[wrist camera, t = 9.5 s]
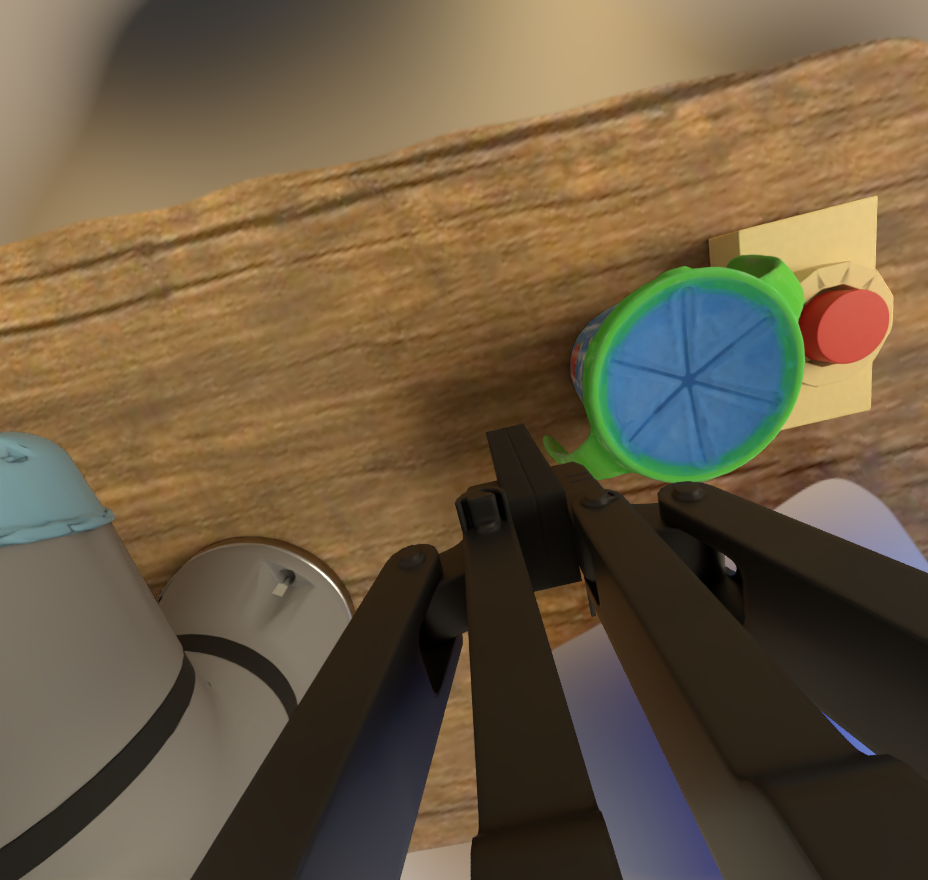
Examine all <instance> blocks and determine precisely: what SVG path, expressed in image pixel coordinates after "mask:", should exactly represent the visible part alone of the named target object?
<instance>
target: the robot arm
mask: <svg viewBox="0 0 928 880" xmlns="http://www.w3.org/2000/svg"><path fill="white" fill-rule="evenodd" d="M486 435H487V439H488V443H489V448H490V452H491V456H492V460H493V465H494V469H495V473H496V477H497V481H493V482H488V483H484V484H480V485H476V486H471V487H469V488H468V490H467V491H466V493H464V494H462V495H461V496H460V497H459V498H457V500H456V502H455V506H456V509H457V513H458V517H459V520H460V524H461V528H462V532H463V540H462V541H461V542H460V543H459V544H457V545H456V546H454V547H453V548H451V549H449V550H447V551H445V552H442V553H440V554H438V551H437V550H436V548H435V547H434V546H432V545H429V544H417V545H410V546H407V547H405V548H403V549H401V550H400V551H398V552H397V553H395V554H394V555H392V556H391V557H390V559H389V560H388V561H387V562H386V564H385V565H384V567H383V569H382V570H381V572H380V573H379V575H378V577H377V578H376V580H375V582H374V583H373V585H372V586H371V588H370V590H369V591H368V593H367V595H366V596H365V598H364V599H363V601H362V603H361V604H360V606H359V607H358V609H357V611H356V612H355V610H354V605H353V602H352V599H351V597H350V595H349V592H348V590H347V589H346V587H345V585H344V584H343V582H342V581H341V579H340V578H339V577H338V576H337V575H336V573H335V572H334V571H333V570H332V569H331V568H330V567H329V566H328V565H327V564H325V563H324V562H323V561H322V560H320V559H319V558H318V557H316V556H315V555H313V554H311V553H310V552H308V551H306V550H304V549H302V548H300V547H298V546H295V545H293V544H290V543H287V542H284V541H280V540H276V539H270V538H263V537H240V538H233V539H228V540H224V541H221V542H218V543H215V544H212V545H210V546H208V547H206V548H204V549H202V550H201V551H199V552H198V553H196V554H195V555H194V556H193V557H191V558H190V559H189V560H188V561H187V562H186V563H185V564H184V565H183V566H182V567H180V568H179V569H178V571H177V572H176V573H175V574H174V575H173V576H172V578H171V579H170V580H169V582H168V583H167V584H166V586H165V587H164V589H163V590H162V592H161V594H160V596H159V598H158V600H157V601H156V600H155V598H154V596H153V594H152V593H151V591H150V589H149V587H148V586H147V584H146V582H145V580H144V579H143V577H142V575H141V573H140V572H139V570H138V568H137V567H136V565H135V563H134V561H133V560H132V558H131V556H130V554H129V553H128V551H127V549H126V547H125V546H124V544H123V542H122V540H121V539H120V537H119V535H118V533H117V532H116V530H115V528H114V526H113V525H112V523H111V522H112V521H114V520H115V518H116V517H115V515H114V513H113V512H112V510H111V509H109V508H107V507H104V506H102V504H101V503H100V501H99V500H98V498H97V497H96V495H95V493H94V492H93V490H92V489H91V487H90V486H89V484H88V483H87V481H86V480H85V478H84V477H83V475H82V474H81V472H80V471H79V469H78V468H77V466H76V465H75V463H74V461H73V460H72V458H71V457H70V456H69V454H68V453H67V452H66V451H65V450H64V449H63V448H61V447H60V446H59V445H58V444H56V443H54V442H53V441H51V440H49V439H47V438H44V437H41V436H38V435H34V434H30V433H25V432H11V431H10V432H0V880H400V877H401V874H402V870H403V866H404V862H405V859H406V855H407V851H408V847H409V844H410V840H411V836H412V832H413V829H414V825H415V821H416V817H417V814H418V810H419V806H420V802H421V799H422V795H423V791H424V787H425V784H426V780H427V776H428V772H429V769H430V765H431V761H432V757H433V754H434V750H435V746H436V742H437V739H438V735H439V731H440V727H441V724H442V720H443V716H444V712H445V709H446V705H447V701H448V697H449V694H450V690H451V686H452V682H453V679H454V675H455V671H456V667H457V664H458V660H459V656H460V652H461V649H462V645H463V636H462V633H464V632H466V631H468V636H469V654H470V672H471V689H472V707H473V725H474V743H475V761H476V778H477V796H478V814H479V830H478V835H477V836H475V837H474V838H473V839H472V846H471V880H623V878H622V875H621V872H620V868H619V865H618V862H617V859H616V855H615V852H614V849H613V845H612V842H611V839H610V836H609V833H608V830H607V826H606V823H605V821H604V818H603V815H602V812H601V811H600V810H599V808H598V806H597V803H596V799H595V796H594V793H593V790H592V786H591V783H590V780H589V776H588V773H587V769H586V766H585V763H584V759H583V756H582V753H581V750H580V746H579V743H578V739H577V736H576V733H575V729H574V726H573V722H572V719H571V716H570V712H569V709H568V706H567V702H566V699H565V696H564V692H563V689H562V685H561V682H560V679H559V675H558V672H557V669H556V665H555V662H554V659H553V655H552V652H551V648H550V645H549V642H548V638H547V635H546V632H545V628H544V625H543V621H542V618H541V615H540V611H539V608H538V605H537V601H536V598H535V595H534V592H535V591H539V590H544V589H548V588H552V587H557V586H561V585H566V584H570V583H575V582H579V581H582V579H581V574H580V568H581V570H582V572H583V574H584V579H585V584H586V590H587V595H588V600H589V606H590V611H591V616H592V617H593V616H596V613H595V610H596V612H597V614H598V616H599V618H600V621H601V623H602V625H603V627H604V629H605V631H606V633H607V635H608V637H609V639H610V641H611V643H612V646H613V648H614V650H615V652H616V654H617V656H618V658H619V660H620V663H621V664H622V667H623V669H624V671H625V673H626V675H627V677H628V679H629V681H630V684H631V686H632V688H633V690H634V692H635V694H636V696H637V698H638V700H639V702H640V704H641V706H642V709H643V711H644V713H645V715H646V717H647V719H648V721H649V723H650V725H651V727H652V729H653V732H654V734H655V736H656V738H657V740H658V742H659V744H660V746H661V748H662V751H663V753H664V755H665V757H666V759H667V761H668V763H669V765H670V767H671V770H672V772H673V774H674V776H675V778H676V780H677V782H678V784H679V786H680V788H681V790H682V793H683V795H684V796H685V799H686V801H687V803H688V805H689V807H690V809H691V811H692V814H693V816H694V818H695V820H696V822H697V824H698V826H699V828H700V830H701V832H702V834H703V837H704V839H705V841H706V843H707V845H708V847H709V849H710V851H711V853H712V855H713V858H714V860H715V862H716V864H717V866H718V868H719V870H720V872H721V874H722V877H723V878H724V880H928V573H926V572H924V571H921V570H919V569H916V568H914V567H911V566H909V565H906V564H904V563H901V562H899V561H896V560H894V559H891V558H889V557H886V556H884V555H882V554H879V553H877V552H874V551H872V550H869V549H867V548H864V547H862V546H860V545H857V544H855V543H852V542H850V541H847V540H845V539H842V538H840V537H837V536H835V535H832V534H830V533H827V532H825V531H823V530H820V529H817V528H815V527H812V526H810V525H808V524H805V523H803V522H800V521H798V520H795V519H793V518H790V517H788V516H786V515H783V514H780V513H778V512H776V511H773V510H771V509H768V508H766V507H763V506H761V505H758V504H756V503H753V502H751V501H749V500H746V499H744V498H741V497H739V496H736V495H734V494H731V493H729V492H726V491H724V490H721V489H719V488H716V487H714V486H712V485H708V484H704V483H700V482H692V481H684V482H683V481H681V482H676V483H674V484H670V485H667V486H665V487H663V488H662V489H660V491H659V492H658V502H659V503H652V504H630V503H629V502H628V501H627V500H626V499H625V498H624V497H623V495H621V494H620V493H618V492H617V491H613V490H609V489H603V487H602V486H601V485H600V484H599V483H598V482H597V480H596V479H595V478H593V476H592V475H591V473H589V471H588V470H587V469H586V468H585V466H584V465H581V464H579V463H576V462H568V463H564V464H560V465H556V466H551V467H550V465H549V464H548V462H547V461H546V459H545V458H544V456H543V454H542V453H541V451H540V450H539V448H538V447H537V445H536V443H535V442H534V440H533V439H532V437H531V436H530V434H529V432H528V431H527V429H526V428H525V426H524V424H519V425H515V426H511V427H506V428H502V429H498V430H494V431H490V432H486ZM725 555H726V556H727V557H728V558H730V559H731V560H732V561H733V562H734V563H735V565H736V567H737V570H736V572H735V571H732V570H730V569H729V568H728V567H726V566H725ZM579 566H580V568H579ZM821 711H822V712H823V713H824V714H825V715H827V716H828V717H829V718H831V719H832V720H833V721H835V722H836V723H837V724H838V725H839V726H841V727H842V728H843V729H845V730H846V731H847V732H849V733H850V734H851V735H852V736H853V737H855V738H856V739H857V740H859V741H860V742H861V743H862V744H864V745H865V746H866V747H867V748H869V749H870V750H871V751H873V752H874V753H875V754H876V755H869V756H868V755H866V754H864V753H862V752H860V751H859V750H857V749H856V748H855V747H854V746H853V745H852V744H851V743H850V742H849V741H847V739H846V738H845V737H844V736H843V735H842V734H841V733H840V732H839V731H838V730H837V729H836V728H835V727H834V725H833V724H832V723H831V722H830V721H829V720H828V719H827V718H826V717H825V715H824V714H823V713H822V712H821Z"/></svg>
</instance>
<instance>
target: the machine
mask: <svg viewBox="0 0 928 880" xmlns="http://www.w3.org/2000/svg"><path fill="white" fill-rule="evenodd" d="M877 197H878V196H872V197H868V198H864V199H860V200H857V201H853V202H849V203H845V204H841V205H837V206H833V207H829V208H825V209H821V210H817V211H813V212H809V213H805V214H801V215H797V216H794V217H790V218H786V219H782V220H778V221H774V222H770V223H766V224H762V225H758V226H754V227H750V228H746V229H742V230H738V231H735V232H731V233H728V234H724V235H721V236H717V237H713V238H710V239H709V240H708V241H709V255H710V267H723V268H726V267H727V265H728V262H729V261H730V260H731V259H733V258H735V257H738V256H740V255H751V254H752V255H765V256H773V257H777V258H780V259H781V260H782V261H783V262H784V263H786V265H787V266H788V267H789V268H790V269H791V271H792V272H793V273H794V275H795V276H796V277H797V279H798V281H799V282H800V284H801V286H802V288H803V292H804V298H805V300H806V301H805V303H804V304H803V308H804V307H805V306H806V305H807V304H808V303H809V302H810V301H811V300H813V299H814V298H815V297H817V296H819V295H821V294H823V293H826V292H829V291H840V290H860V289H863V290H869V291H873V292H875V293H877V294H878V295H880V296H881V297H882V298H883V299H884V301H885V302H886V304H887V306H888V309H889V326H888V330H887V332H886V335H885V337H884V339H883V340H882V342H881V343H880V344H879V346H878V347H877V348H876V349H875V350H874V351H873V352H872V353H871V354H869V355H868V356H866V357H865V358H863V359H861V360H859V361H856V362H853V363H848V364H837V363H830V362H823V361H816V360H812V359H809V358H807V357H805V365H804V375H803V381H802V385H801V389H800V392H799V395H798V398H797V401H796V404H795V406H794V408H793V410H792V412H791V414H790V416H789V418H788V419H787V421H786V423H785V424H784V426H783V427H782V429H781V430H784V429H788V428H792V427H797V426H801V425H805V424H810V423H814V422H818V421H823V420H827V419H832V418H836V417H840V416H845V415H849V414H853V413H858V412H862V411H866V410H870V409H871V382H872V361H873V360H874V359H875V357H876V356H877V354H878V352H879V350H880V349H881V347H882V345H883V343H884V341H885V340H886V338H887V336H888V334H889V332H890V331H891V328H892V319H893V295H892V293H891V292H890V290H889V288H888V287H887V285H886V284H885V282H884V280H883V279H882V277H881V275H880V274H879V272H878V271H877V270H875V259H876V228H877ZM802 310H803V309H802Z"/></svg>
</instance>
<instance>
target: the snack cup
mask: <svg viewBox="0 0 928 880" xmlns="http://www.w3.org/2000/svg"><path fill="white" fill-rule="evenodd" d="M805 301H806V300H805V298H804V292H803V288H802V286H801V284H800V282H799V281H798V279H797V277H796V276H795V275H794V273H793V272H792V271H791V269H790V268H789V267H788V266H787V265H786V263H784V262H783V261H782V260H781V259H780V258H777V257H773V256H765V255H752V254H751V255H740V256H738V257H735V258H733V259H731V260H730V261H729V262H728V265H727V267H726V268H723V267H704V268H694V269H692V268H689V267H687V266H683V267H679V268H675V269H672V270H669V271H666V272H664V273H662V274H661V275H660V276H658V277H657V278H656V279H655V280H653V281H650V282H648V283H646V284H644V285H643V286H641V287H640V288H638V289H637V290H636V291H634V292H633V293H631V294H630V295H628V296H627V297H625V298H624V299H623V300H622V301H621V302H620V303H618V304H616V305H614V306H612V307H610V308H609V309H607V310H605V311H604V312H602V313H601V314H599V315H598V316H597V317H595V318H594V319H593V320H591V321H590V322H589V323H588V324H587V325H586V327H585V328H584V329H583V331H582V332H581V333H580V334H579V336H578V338H577V340H576V342H575V344H574V347H573V350H572V354H571V363H570V371H571V378H572V381H573V384H574V387H575V390H576V392H577V394H578V396H579V397H580V399H581V401H582V402H583V405H584V406H585V411H586V414H587V417H588V420H589V423H590V427H591V431H590V435H589V437H588V438H587V440H586V441H585V442H584V443H583V444H582V445H581V446H580V447H579V448H577V449H576V450H575V451H574V452H573V453H571V454H569V455H568V453H567V451H566V450H565V449H564V447H563V446H561V445H560V444H559V443H558V442H557V441H556V440H554V439H553V438H552V437H550V436H548V435H545V436H544V437H543V444H544V447H545V448H546V450H547V452H548V453H549V454H550V456H551V457H552V458H553V459H554V460H555V461H556V462H558V463H559V465H560V464H564V463H568V462H576V463H579V464H581V465H584V466H585V468H586V469H587V470H588V471H589V473H591V475H592V476H593V478H595V479H596V480H602V479H608V478H612V477H615V476H619V475H622V474H626V473H631V472H633V473H638V474H641V475H643V476H645V477H648V478H651V479H655V480H659V481H663V482H669V483H676V482H681V481H683V482H684V481H692V482H702V481H707V480H710V479H712V478H715V477H718V476H721V475H723V474H726V473H729V472H731V471H733V470H735V469H736V468H738V467H740V466H742V465H744V464H745V463H747V462H748V461H750V460H751V459H752V458H754V457H755V456H756V455H757V454H759V453H760V452H761V451H762V450H763V449H764V448H765V447H766V446H767V445H768V444H769V443H770V442H771V441H772V440H773V439H774V438H775V437H776V435H777V434H778V433H779V431H780V430H781V429H782V427H783V426H784V424H785V423H786V421H787V419H788V418H789V416H790V414H791V412H792V410H793V408H794V406H795V404H796V401H797V398H798V395H799V392H800V389H801V385H802V381H803V375H804V365H805V349H804V342H803V337H802V333H801V330H800V327H799V324H798V321H799V317H800V314H801V312H802V309H803V304H804V303H805Z"/></svg>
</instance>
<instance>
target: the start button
mask: <svg viewBox="0 0 928 880" xmlns="http://www.w3.org/2000/svg"><path fill="white" fill-rule="evenodd" d="M798 324H799V327H800V330H801V333H802V337H803V342H804V349H805V357H807V358H809V359H812V360H816V361H823V362H830V363H837V364H848V363H853V362H856V361H859V360H861V359H863V358H865V357H866V356H868V355H869V354H871V353H872V352H873V351H874V350H875V349H876V348H877V347H878V346H879V344H880V343H881V342H882V340H883V339H884V337H885V335H886V332H887V330H888V326H889V309H888V306H887V304H886V302H885V301H884V299H883V298H882V297H881V296H880V295H878V294H877V293H875V292H873V291H869V290H863V289H860V290H840V291H829V292H826V293H823V294H821V295H819V296H817V297H815V298H814V299H813V300H811V301H810V302H809V303H808V304H807V305H806V306H805V307H804V308H803V310H802V312H801V314H800V317H799V321H798Z"/></svg>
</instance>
